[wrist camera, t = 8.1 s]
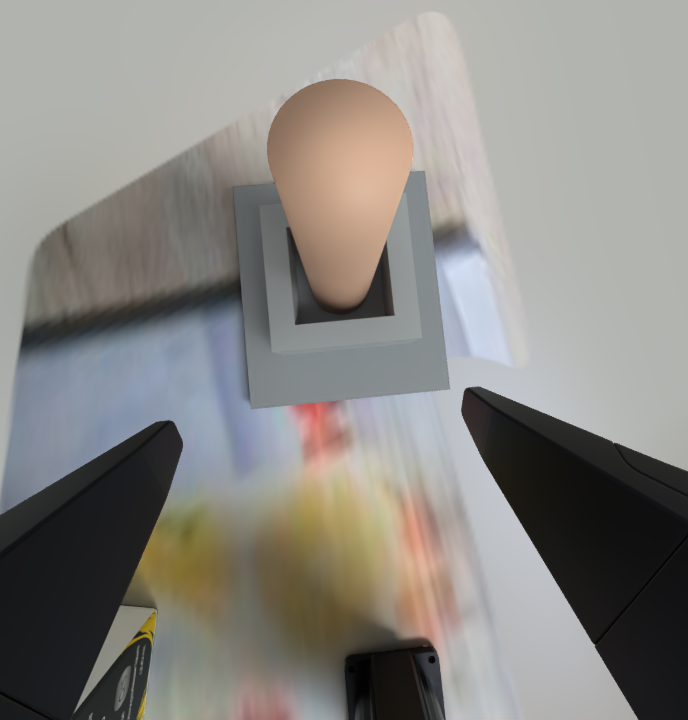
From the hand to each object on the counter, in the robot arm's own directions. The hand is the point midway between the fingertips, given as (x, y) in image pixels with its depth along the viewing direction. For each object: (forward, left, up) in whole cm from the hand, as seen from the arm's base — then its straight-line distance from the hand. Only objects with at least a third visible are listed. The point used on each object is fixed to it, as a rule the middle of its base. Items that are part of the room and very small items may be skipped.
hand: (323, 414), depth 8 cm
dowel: (+7, -1, -11) cm, 13 cm away
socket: (+7, -1, -12) cm, 14 cm away
